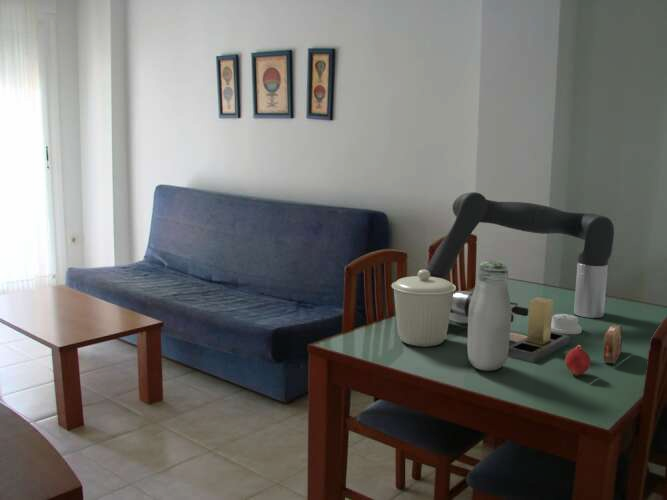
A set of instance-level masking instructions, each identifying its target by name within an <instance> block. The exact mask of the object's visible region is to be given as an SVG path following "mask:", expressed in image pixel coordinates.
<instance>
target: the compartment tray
mask: <svg viewBox="0 0 667 500" xmlns="http://www.w3.org/2000/svg"><path fill="white" fill-rule="evenodd" d="M527 338H528V337H527ZM527 338H525V339H523V340H521V341H519V342H515V343H513V344H511V345H510V344H509V350H508V356H507V357H509V358H514V359H518V360H520V361H524V362H529V363H532V364H534V363H536V362H537V361H540V360H541V359H543V358H546V357H547V356H548V355H551V354H553V353H554V352H556V351H558V350H560V349H561V348H563V347H565V346H567V345H569V344H570V334H563V333H557V332H554V331H551V336H550V343H549V344H547V345H545V346H541V345H537V344H533V343H529V342H527Z"/></svg>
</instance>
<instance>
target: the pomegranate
mask: <svg viewBox="0 0 667 500" xmlns="http://www.w3.org/2000/svg"><path fill="white" fill-rule="evenodd" d="M564 363H565V366H566V369H568V370H569V372H570V373H572V374H573V375H574V376H576V377H579V376H581V375H583V374H584V373H585V372H587V371H588V370H589V369H590V367H591V358H590V356H589V354H588V353H587V351H586V350H584V348H582V345H580V344H578V345H576V347H575V348H572V349H570V350H569V351H568V352H567V353H566V356H565V359H564Z"/></svg>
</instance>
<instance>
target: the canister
mask: <svg viewBox="0 0 667 500" xmlns="http://www.w3.org/2000/svg"><path fill="white" fill-rule="evenodd" d="M391 288H392V290H393V293H394V294H393V295H394V296H393V297H394V307H395V317H396V326H397V334H398V337H399V339H400V340H401V341H402V342H404V343H405V344H407V345H409V346H410V345H411V346H412V347H413V346H414V347H423V348H424V347H427V348H428V347H435V346H436V347H437V345H441V344H442V343H444V341H445V339H446V337H447V333H448V329H449V324H450V319H449V318H450V312H451V305H452V299H453V292H454V291H455V290H457V287H456V285H455V284H454V283H452V282H450V281H449V280H447V279H446V280H445V279H442V278H437V277H430V272H429V271H428V270H426V269H420V270H419V271H417V275H413V276H405V277H401V278H399V279H397V281H394V282H392V284H391Z"/></svg>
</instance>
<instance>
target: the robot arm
mask: <svg viewBox="0 0 667 500" xmlns="http://www.w3.org/2000/svg"><path fill="white" fill-rule="evenodd" d="M452 212H453V215H454V216H455V217H456V218H455V220H454V223H453V224H452V226H451V228H450V230H449V231H448V233H447V235H446V236H445V237H444V238H443V240H442V241H441V243H439V244H438V245H439V246H438V247H437V248H436V250H434V253H433V255H432V257H431V259H430V260H429V262H428V265H427V266H426V268H425V270H428V271H429V272H430V277H437V278H442V279H445V280H447V278H448V277H449V274H450V272H452V271H451V270H452V269H453V266H454V265H455V263H456V260H457V259H458V257H459V255H460V253H461V251H462V250H463V247H464V246H465V244H466V243H467V241H468V239H469V238H470V236H471V234H472V233H473V232H474V230H475V229H476V227H477V226H478V225H479V224H480V223H484V224H491V225H492V224H493V225H497V226H501V227H505V228H509V229H512V230H517V231H522V232H526V233H531V234H533V233H534V234H542V235H544V234H545V235H546V234H547V235H551V234H561V235H567V236H571V237H574V238H577V239H581V240H583V241H584V245H583V250H582V252H580V253H578V255H577V266H576V278H575V279H576V280H575V281H576V282H575V289H574V290H575V294H574V306H573V314H574V315H575V316H576V315H577V316H579V317H583V318H592V319H597V318H599V319H600V318H602V317H604V314H605V304H606V303H605V302H606V291H607V279H608V270H609V269H608V267H609V259H610V258H611V255H612V252H613V245H614V238H615V237H614V236H615V228H614V223H613V221H612V220H611V219H610V218H608V216H604V215H601V214H597V213H586V212H585V213H582V212H571V211H570V212H568V211H564V210H561V209H558V208H555V207H551V206H547V205H543V204H539V203H532V202H523V201H521V202H520V201H497V200H496V201H495V200H490V199H487V198H486V197H485V196H484V195H483V194H481V193H480V192H473V191H472V192H467V193H463V194H461V195H459V196H457V197H456V198H455V200H454V201H453V203H452ZM472 294H473V292H472V291H466V290H457V289H456V290H455V291H454V292H453V299H452V305H451V312H450V313H455V314H458V315H460V316H464V317H468V314H469V304H470V300H471V297H472ZM510 304H511V323H513V322H514V316H515V315H518V316H522V317H523V316H524V317H528V316H529V308H528V307H524V306H523V307H522V306H519V305H518V303H516V302H513V301H512V302H511V301H510Z"/></svg>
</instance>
